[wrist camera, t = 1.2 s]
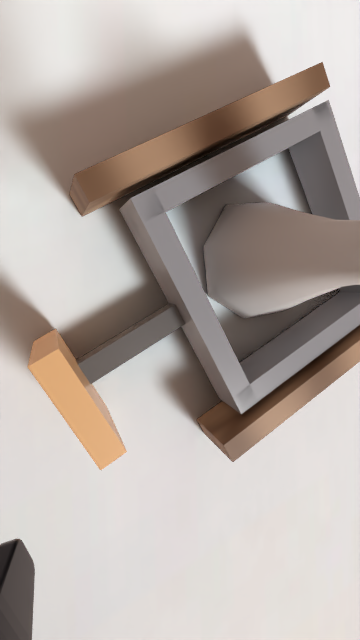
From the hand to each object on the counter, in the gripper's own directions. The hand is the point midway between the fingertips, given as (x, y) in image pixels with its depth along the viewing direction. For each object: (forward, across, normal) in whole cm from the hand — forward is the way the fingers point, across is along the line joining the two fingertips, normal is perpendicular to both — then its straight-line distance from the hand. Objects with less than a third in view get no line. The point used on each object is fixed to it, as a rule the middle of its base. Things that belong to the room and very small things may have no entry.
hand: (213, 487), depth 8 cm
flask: (+14, -7, -1) cm, 16 cm away
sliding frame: (+12, -4, -1) cm, 13 cm away
